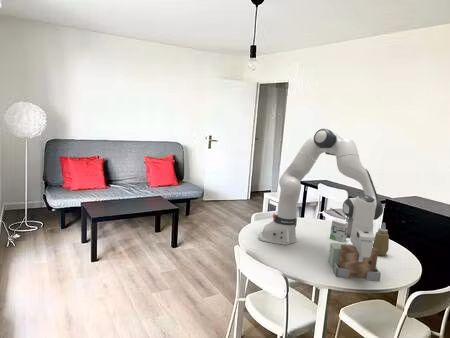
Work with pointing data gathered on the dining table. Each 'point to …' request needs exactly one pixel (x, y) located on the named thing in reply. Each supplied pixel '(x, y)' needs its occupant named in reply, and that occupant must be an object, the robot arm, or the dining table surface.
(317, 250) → the dining table surface
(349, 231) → the coffee pot
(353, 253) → the brown wooden block
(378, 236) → the squeeze bottle
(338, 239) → the ink box
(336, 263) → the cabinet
